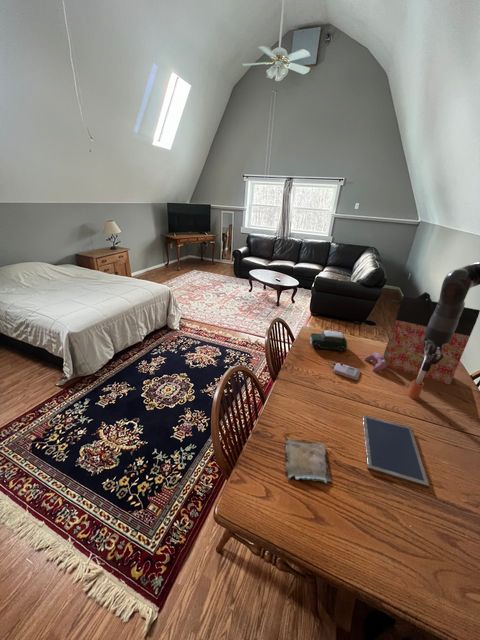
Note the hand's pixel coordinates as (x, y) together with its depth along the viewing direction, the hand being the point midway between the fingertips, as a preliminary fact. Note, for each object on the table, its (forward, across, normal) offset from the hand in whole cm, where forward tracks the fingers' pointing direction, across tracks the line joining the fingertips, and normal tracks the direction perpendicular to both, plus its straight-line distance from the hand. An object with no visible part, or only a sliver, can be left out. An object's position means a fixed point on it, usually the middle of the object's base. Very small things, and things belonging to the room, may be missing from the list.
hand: (424, 368), depth 98 cm
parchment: (+13, -43, +36) cm, 58 cm away
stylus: (+7, 0, 0) cm, 7 cm away
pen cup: (+13, 0, 0) cm, 13 cm away
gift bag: (+13, +22, -4) cm, 26 cm away
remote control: (+14, +7, +25) cm, 29 cm away
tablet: (+13, -29, +12) cm, 34 cm away
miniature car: (+14, +27, +33) cm, 45 cm away
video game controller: (+14, +17, +12) cm, 25 cm away
